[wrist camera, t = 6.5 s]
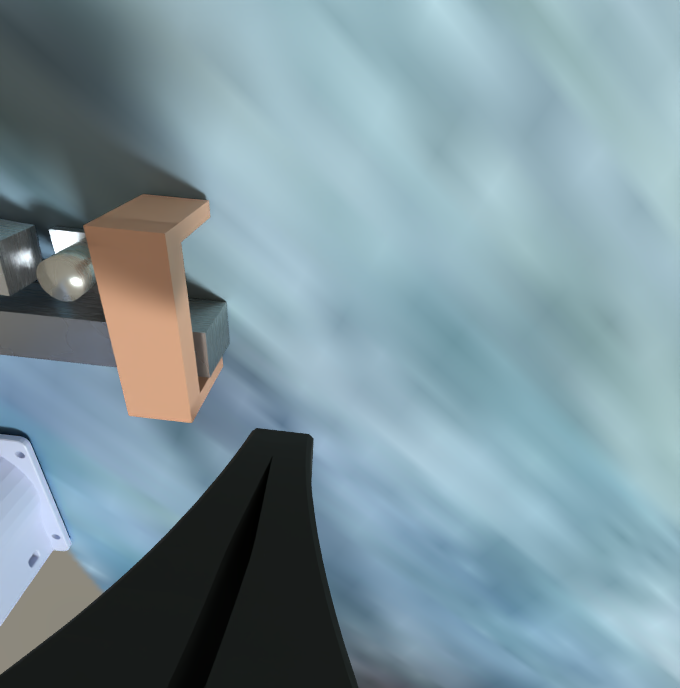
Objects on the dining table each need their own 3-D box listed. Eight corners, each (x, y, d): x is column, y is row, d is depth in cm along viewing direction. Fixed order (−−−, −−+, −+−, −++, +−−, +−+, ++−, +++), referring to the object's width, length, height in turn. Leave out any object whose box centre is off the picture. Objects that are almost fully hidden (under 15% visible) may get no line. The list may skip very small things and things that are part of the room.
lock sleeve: (222, 366, 20) (192, 423, 17) (169, 360, 20) (128, 415, 17) (208, 200, 16) (164, 233, 13) (142, 194, 16) (83, 225, 13)
